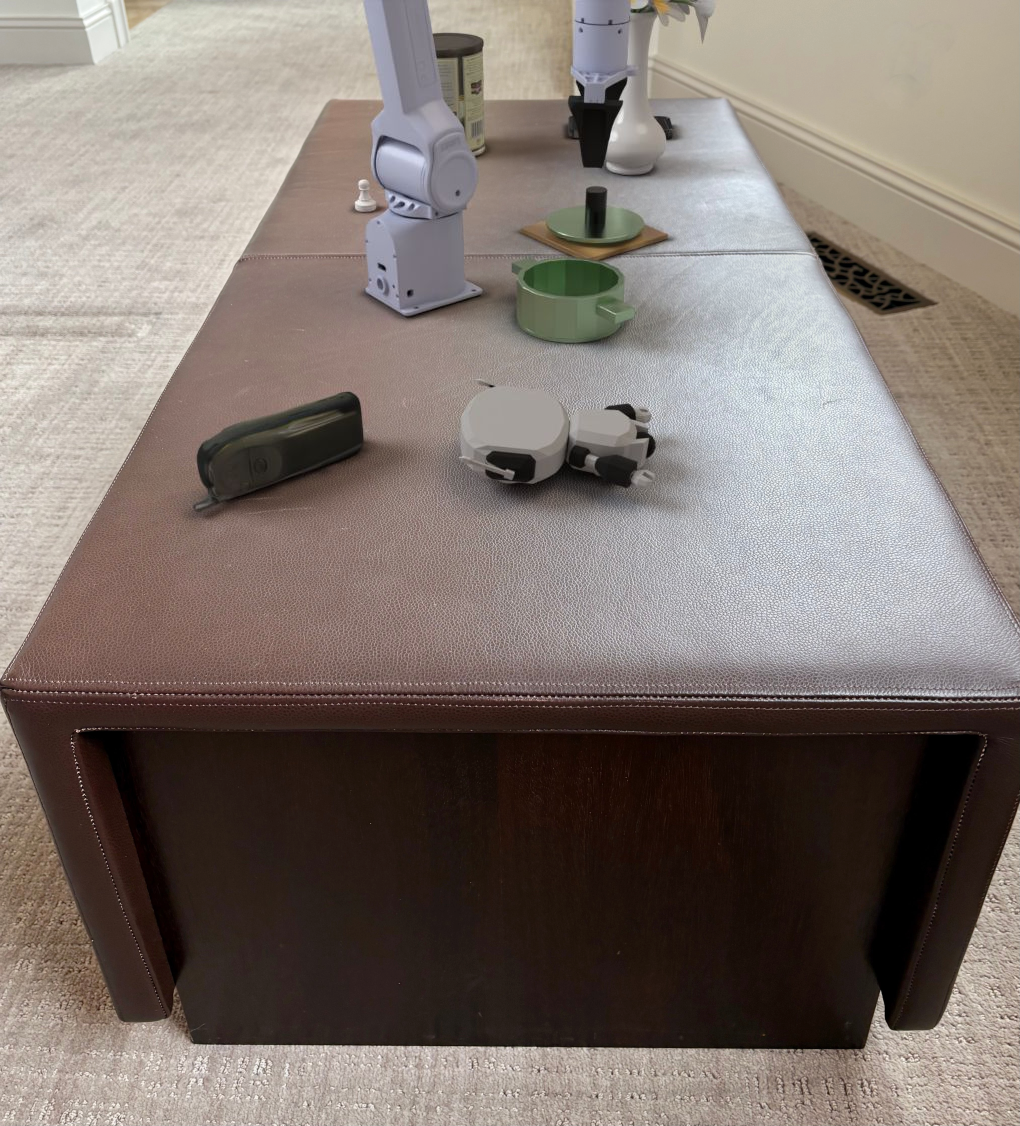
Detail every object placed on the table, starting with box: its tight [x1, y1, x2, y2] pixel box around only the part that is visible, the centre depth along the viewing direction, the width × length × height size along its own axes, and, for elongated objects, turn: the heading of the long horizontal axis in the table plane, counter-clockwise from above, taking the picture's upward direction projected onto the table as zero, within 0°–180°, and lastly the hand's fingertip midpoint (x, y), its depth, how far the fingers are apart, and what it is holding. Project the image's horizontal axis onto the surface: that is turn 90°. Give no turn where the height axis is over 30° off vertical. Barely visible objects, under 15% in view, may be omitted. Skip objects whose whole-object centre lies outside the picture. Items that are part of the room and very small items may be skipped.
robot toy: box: [457, 378, 657, 490], centre depth 82 cm, size 12×4×15 cm
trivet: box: [520, 220, 669, 261], centre depth 123 cm, size 12×12×1 cm
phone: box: [567, 115, 674, 140], centre depth 156 cm, size 8×1×15 cm
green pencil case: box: [192, 391, 365, 513], centre depth 80 cm, size 5×3×15 cm
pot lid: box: [545, 185, 645, 243], centre depth 121 cm, size 11×11×5 cm
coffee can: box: [432, 32, 486, 157], centre depth 146 cm, size 10×10×14 cm
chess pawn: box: [354, 179, 377, 213], centre depth 129 cm, size 3×3×4 cm
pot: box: [511, 256, 636, 344], centre depth 103 cm, size 10×16×4 cm, turn 37°
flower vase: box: [605, 0, 717, 176], centre depth 135 cm, size 13×18×25 cm
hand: (595, 156), depth 117 cm, fingers open, 7 cm apart
